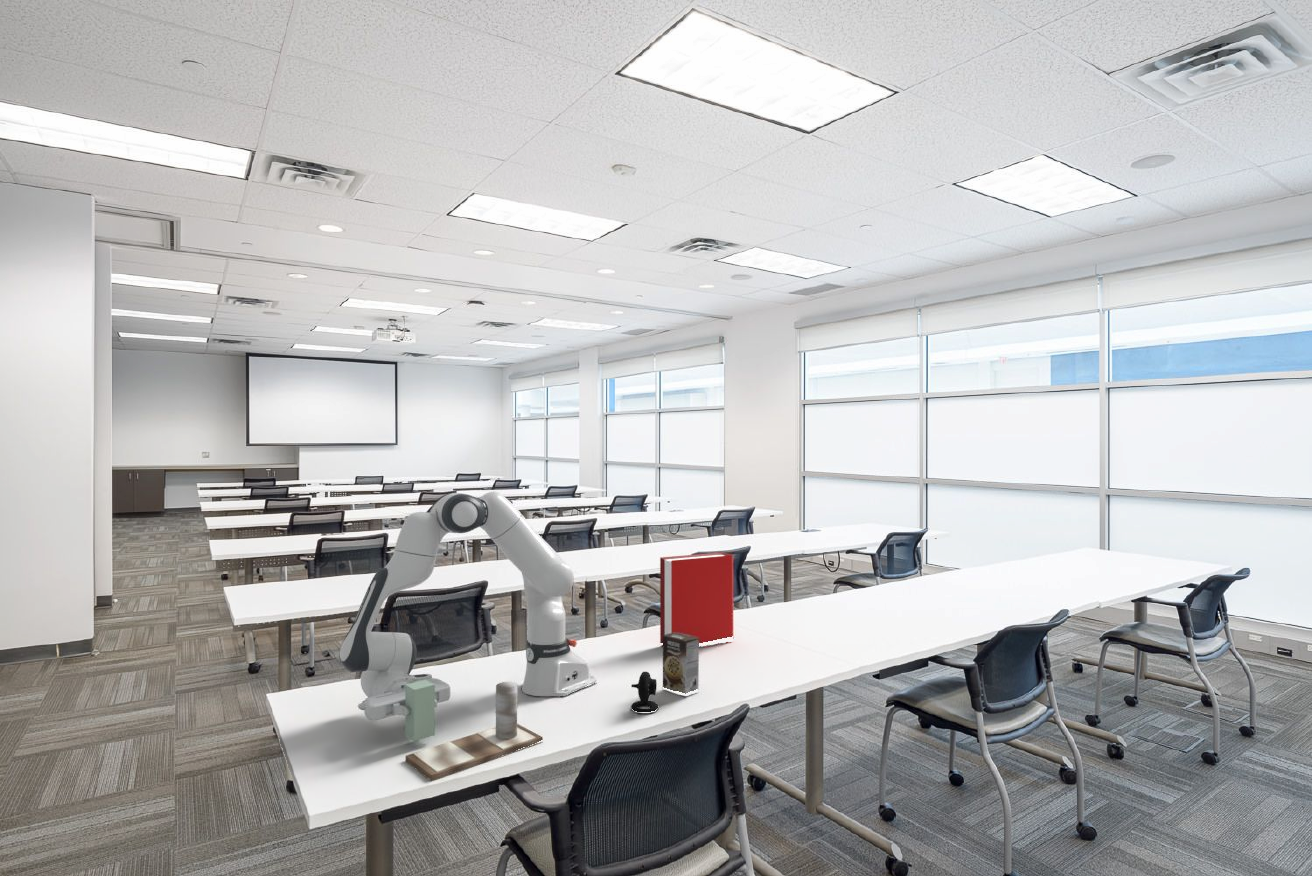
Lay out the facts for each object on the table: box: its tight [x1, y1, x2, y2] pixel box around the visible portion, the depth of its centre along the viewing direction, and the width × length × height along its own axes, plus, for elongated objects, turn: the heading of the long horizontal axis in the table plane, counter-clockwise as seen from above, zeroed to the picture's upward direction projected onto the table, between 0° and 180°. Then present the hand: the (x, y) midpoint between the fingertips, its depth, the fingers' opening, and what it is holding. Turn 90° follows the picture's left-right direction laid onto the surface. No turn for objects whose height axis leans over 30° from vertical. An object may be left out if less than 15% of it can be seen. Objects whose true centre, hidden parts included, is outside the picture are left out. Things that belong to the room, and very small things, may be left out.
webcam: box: [630, 671, 659, 712], centre depth 183 cm, size 8×8×10 cm
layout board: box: [405, 681, 544, 782], centre depth 157 cm, size 28×13×13 cm, turn 134°
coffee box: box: [662, 632, 700, 694], centre depth 197 cm, size 9×6×16 cm
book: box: [659, 552, 734, 644], centre depth 246 cm, size 27×8×32 cm, turn 119°
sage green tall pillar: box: [404, 680, 436, 742], centre depth 161 cm, size 5×5×12 cm
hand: (421, 708), depth 160 cm, fingers closed on sage green tall pillar, 5 cm apart
